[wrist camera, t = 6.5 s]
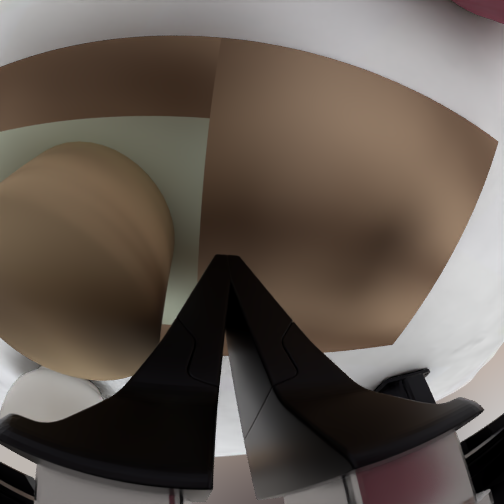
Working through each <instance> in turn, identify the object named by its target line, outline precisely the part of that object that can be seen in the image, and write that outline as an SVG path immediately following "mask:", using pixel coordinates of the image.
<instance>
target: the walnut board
mask: <svg viewBox="0 0 504 504" xmlns="http://www.w3.org/2000/svg"><path fill="white" fill-rule="evenodd" d="M79 141H80V142H92V143H96V144H100V145H104V146H106V147H109V148H111V149H114V150H116V151H118V152H120V153H121V154H123V155H125V156H127V157H128V158H129V159H131V160H132V161H133V162H135V163H136V164H137V165H139V166H140V167H141V168H142V169H143V170H144V171H145V172H146V173H147V174H148V175H149V177H150V178H151V179H152V180H153V182H154V183H155V184H156V185H157V187H158V189H159V190H160V192H161V193H162V195H163V197H164V199H165V201H166V203H167V206H168V208H169V210H170V214H171V217H172V220H173V227H174V239H175V244H174V251H173V257H172V263H171V268H170V274H169V280H168V286H167V292H166V299H165V306H164V313H163V320H162V327H161V335H160V341H161V340H162V339H163V337H164V336H165V334H166V333H167V331H168V330H169V328H170V326H171V325H172V323H173V321H174V320H175V319H176V317H177V315H178V313H179V312H180V310H181V309H182V307H183V305H184V304H185V302H186V300H187V299H188V297H189V296H190V294H191V292H192V291H193V289H194V287H195V286H196V284H197V283H198V281H199V279H200V278H201V276H202V275H203V273H204V271H205V270H206V268H207V267H208V265H209V264H210V262H211V260H212V259H213V257H214V256H215V255H216V254H224V255H238V256H240V257H241V259H242V260H243V261H244V262H245V263H246V265H247V266H248V267H249V268H250V269H251V271H252V272H253V273H254V274H255V275H256V277H257V278H258V279H259V280H260V282H261V283H262V284H263V285H264V286H265V288H266V289H267V290H268V291H269V292H270V294H271V295H272V296H273V297H274V298H275V300H276V301H277V302H278V303H279V304H280V306H281V307H282V308H283V309H284V310H285V312H286V313H287V314H288V315H289V316H290V318H291V319H292V320H293V322H295V323H296V325H297V326H298V327H299V328H300V329H301V330H302V332H303V333H304V334H305V335H306V336H307V337H308V338H309V339H310V341H311V342H312V343H313V344H314V345H315V346H316V347H317V348H318V349H319V350H321V351H322V352H323V353H324V352H336V351H346V350H355V349H364V348H372V347H379V346H386V345H393V343H394V342H395V341H396V340H397V338H398V337H399V336H400V334H401V333H402V332H403V330H404V329H405V327H406V326H407V325H408V323H409V322H410V321H411V319H412V318H413V316H414V315H415V313H416V312H417V310H418V309H419V308H420V306H421V305H422V303H423V302H424V300H425V298H426V297H427V295H428V294H429V292H430V291H431V289H432V287H433V286H434V284H435V283H436V281H437V279H438V278H439V276H440V274H441V273H442V271H443V269H444V267H445V266H446V264H447V262H448V260H449V259H450V257H451V255H452V253H453V251H454V249H455V247H456V245H457V244H458V242H459V240H460V238H461V236H462V234H463V232H464V230H465V227H466V225H467V223H468V221H469V219H470V217H471V215H472V212H473V210H474V208H475V205H476V203H477V201H478V198H479V196H480V193H481V191H482V188H483V186H484V183H485V181H486V178H487V175H488V172H489V170H490V167H491V164H492V161H493V158H494V155H495V151H496V148H497V145H498V141H497V140H495V139H494V138H493V137H491V136H490V135H489V134H487V133H486V132H484V131H483V130H481V129H480V128H479V127H477V126H476V125H474V124H473V123H471V122H469V121H468V120H466V119H465V118H463V117H462V116H460V115H458V114H457V113H455V112H453V111H452V110H450V109H448V108H446V107H445V106H443V105H441V104H439V103H437V102H436V101H434V100H432V99H430V98H428V97H426V96H424V95H422V94H420V93H418V92H416V91H414V90H412V89H410V88H408V87H406V86H403V85H401V84H399V83H397V82H394V81H392V80H390V79H387V78H385V77H382V76H380V75H377V74H375V73H372V72H370V71H367V70H364V69H362V68H359V67H356V66H353V65H350V64H347V63H344V62H341V61H338V60H334V59H331V58H327V57H324V56H320V55H317V54H313V53H309V52H305V51H301V50H296V49H292V48H287V47H282V46H277V45H272V44H266V43H260V42H254V41H247V40H239V39H230V38H219V37H205V36H144V37H130V38H119V39H111V40H103V41H96V42H90V43H84V44H79V45H74V46H69V47H65V48H60V49H56V50H52V51H48V52H45V53H41V54H38V55H34V56H31V57H28V58H25V59H22V60H19V61H16V62H13V63H10V64H7V65H5V66H2V67H0V182H2V181H3V180H4V179H6V178H7V177H8V176H10V175H11V174H12V173H14V172H15V171H16V170H18V169H19V168H20V167H22V166H23V165H25V164H26V163H28V162H29V161H30V160H32V159H33V158H35V157H36V156H38V155H40V154H41V153H43V152H44V151H46V150H47V149H50V148H52V147H54V146H56V145H59V144H63V143H67V142H79ZM223 356H229V353H228V347H227V340H226V334H225V338H224V347H223Z"/></svg>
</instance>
